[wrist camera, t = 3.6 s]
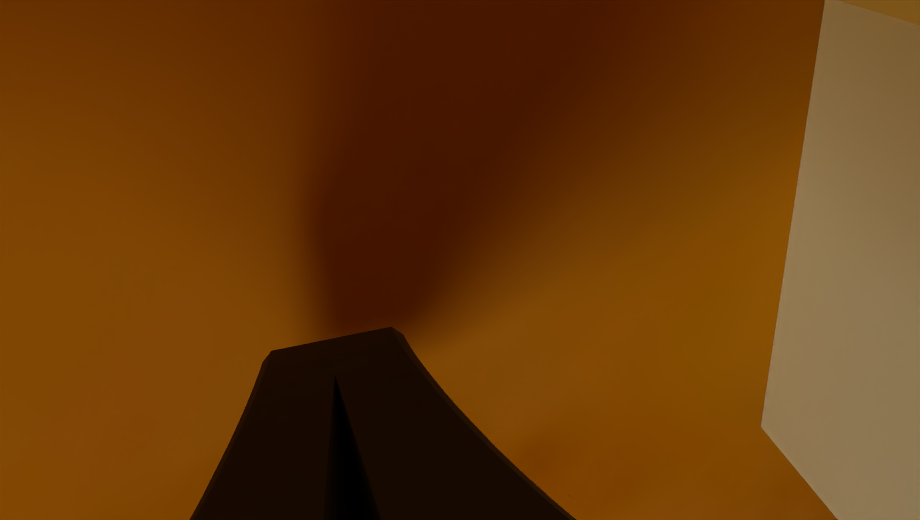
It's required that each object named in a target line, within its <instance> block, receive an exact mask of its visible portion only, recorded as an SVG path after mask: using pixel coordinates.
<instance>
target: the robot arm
mask: <svg viewBox="0 0 920 520" xmlns="http://www.w3.org/2000/svg"><path fill="white" fill-rule="evenodd" d="M190 520H576V519H575V518H573V517H572V516H571V515H570V514H569V513H568V512H566V511H565V510H564V509H563V508H562V507H560V506H559V505H558V504H557V503H556V502H555V501H553V500H552V499H551V498H550V497H549V496H548V495H547V494H546V493H544V492H543V491H542V490H541V489H540V488H539V487H538V486H537V485H536V484H534V483H533V482H532V481H531V480H530V479H529V478H528V477H527V476H526V475H525V474H523V473H522V472H521V471H520V470H519V469H518V468H517V467H516V466H515V465H514V464H513V463H512V462H511V461H510V460H509V459H508V458H506V457H505V456H504V455H503V454H502V453H501V452H500V451H499V450H498V449H497V448H496V447H495V446H494V445H493V444H492V443H491V442H490V441H489V440H488V438H487V437H486V436H485V435H484V434H483V433H482V432H481V431H480V430H479V429H478V428H477V427H476V426H475V425H474V424H473V423H472V422H471V421H470V420H469V419H468V418H467V417H466V415H465V414H464V413H463V412H462V411H461V410H460V409H459V408H458V407H457V406H456V405H455V403H454V402H453V401H452V400H451V399H450V398H449V397H448V395H447V394H446V393H445V392H444V391H443V389H442V388H441V387H440V386H439V385H438V383H437V382H436V381H435V380H434V379H433V377H432V376H431V375H430V374H429V372H428V371H427V370H426V368H425V367H424V366H423V364H422V363H421V362H420V360H419V359H418V358H417V356H416V355H415V353H414V352H413V350H412V349H411V347H410V346H409V344H408V342H407V341H406V339H405V337H404V335H403V334H401V333H400V332H398V331H397V330H395V329H394V328H392V327H388V328H383V329H378V330H373V331H368V332H363V333H358V334H353V335H348V336H343V337H338V338H333V339H328V340H323V341H318V342H313V343H308V344H303V345H298V346H293V347H288V348H283V349H278V350H273V351H271V352H270V354H269V355H268V356H267V357H266V359H265V360H264V361H263V363H262V366H261V369H260V372H259V374H258V377H257V380H256V382H255V385H254V387H253V390H252V393H251V395H250V398H249V400H248V402H247V405H246V407H245V409H244V412H243V414H242V416H241V418H240V421H239V423H238V425H237V427H236V429H235V432H234V434H233V436H232V438H231V440H230V443H229V445H228V447H227V449H226V451H225V453H224V455H223V457H222V459H221V461H220V462H219V464H218V466H217V468H216V470H215V472H214V474H213V476H212V478H211V480H210V482H209V484H208V486H207V488H206V490H205V492H204V494H203V496H202V498H201V500H200V502H199V504H198V506H197V507H196V509H195V511H194V513H193V515H192V516H191V518H190Z"/></svg>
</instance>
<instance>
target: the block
mask: <svg viewBox="0 0 920 520" xmlns="http://www.w3.org/2000/svg"><path fill="white" fill-rule="evenodd" d="M761 428H762V429H763V430H764V431H765V432H766V434H767V435H768V436H769V437H770V438H771V440H772V441H773V442H774V443H775V445H776V446H777V447H778V448H779V449H780V451H781V452H782V453H783V454H784V455H785V457H786V458H787V459H788V460H789V461H790V463H791V464H792V465H793V466H794V468H795V469H796V470H797V471H798V472H799V474H800V475H801V476H802V477H803V478H804V480H805V481H806V482H807V483H808V484H809V486H810V487H811V488H812V489H813V490H814V492H815V493H816V494H817V495H818V497H819V498H820V499H821V500H822V501H823V503H824V504H825V505H826V506H827V507H828V509H829V510H830V511H831V512H832V513H833V515H834V516H835V517H836V518H837V520H920V0H825V3H824V10H823V17H822V23H821V30H820V37H819V43H818V50H817V57H816V63H815V70H814V77H813V83H812V90H811V97H810V103H809V110H808V117H807V123H806V130H805V137H804V143H803V150H802V157H801V163H800V170H799V176H798V183H797V190H796V196H795V203H794V210H793V216H792V223H791V230H790V236H789V243H788V250H787V256H786V263H785V270H784V276H783V283H782V290H781V296H780V303H779V310H778V316H777V323H776V330H775V336H774V343H773V350H772V356H771V363H770V369H769V376H768V383H767V389H766V396H765V403H764V409H763V416H762V423H761Z"/></svg>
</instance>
